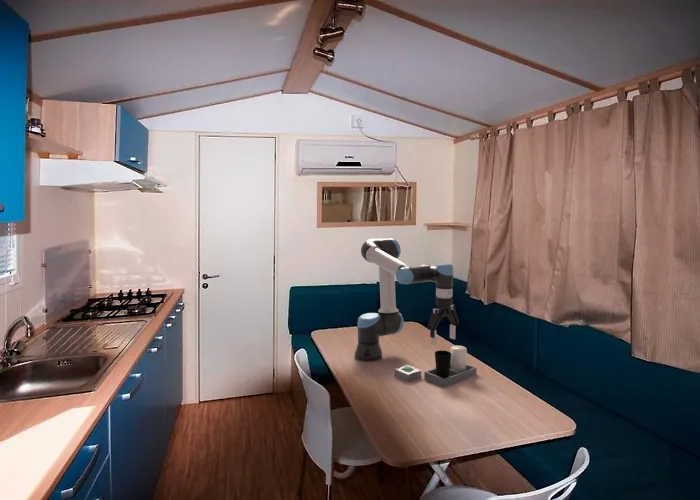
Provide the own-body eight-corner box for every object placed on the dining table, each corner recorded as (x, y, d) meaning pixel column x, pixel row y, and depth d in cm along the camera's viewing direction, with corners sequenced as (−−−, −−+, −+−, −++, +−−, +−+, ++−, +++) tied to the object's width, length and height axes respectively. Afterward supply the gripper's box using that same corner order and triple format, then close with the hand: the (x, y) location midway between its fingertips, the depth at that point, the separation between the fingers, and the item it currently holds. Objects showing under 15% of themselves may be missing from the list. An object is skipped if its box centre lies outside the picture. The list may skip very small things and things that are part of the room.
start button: (402, 374, 201) (402, 367, 200) (407, 372, 203) (407, 365, 203) (407, 376, 198) (407, 369, 197) (413, 375, 200) (413, 367, 200)
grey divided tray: (424, 378, 198) (424, 371, 197) (455, 367, 212) (456, 360, 212) (444, 387, 188) (444, 379, 188) (476, 374, 202) (476, 367, 202)
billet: (447, 371, 204) (447, 347, 203) (456, 367, 209) (457, 344, 208) (459, 376, 198) (460, 351, 197) (469, 372, 203) (470, 348, 202)
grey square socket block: (394, 376, 201) (394, 369, 201) (407, 371, 207) (407, 364, 206) (408, 381, 194) (408, 374, 194) (421, 377, 200) (421, 370, 199)
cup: (451, 381, 192) (451, 356, 191) (434, 380, 193) (434, 355, 192) (450, 375, 199) (451, 350, 198) (434, 374, 201) (434, 349, 200)
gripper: (432, 302, 182) (431, 348, 185) (467, 294, 198) (466, 338, 200) (419, 299, 188) (418, 344, 190) (454, 292, 203) (453, 334, 206)
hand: (443, 341), depth 195 cm, fingers open, 13 cm apart
